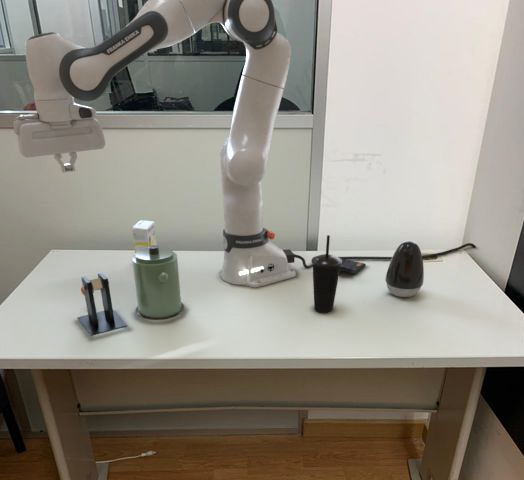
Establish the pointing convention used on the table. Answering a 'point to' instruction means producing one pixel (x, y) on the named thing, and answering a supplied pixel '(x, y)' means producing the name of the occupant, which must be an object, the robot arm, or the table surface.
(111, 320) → the switch bracket
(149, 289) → the green canister
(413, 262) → the black egg-shaped device
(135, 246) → the ink box
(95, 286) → the switch lever
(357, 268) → the calculator
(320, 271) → the drinking cup
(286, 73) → the robot arm
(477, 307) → the table surface
